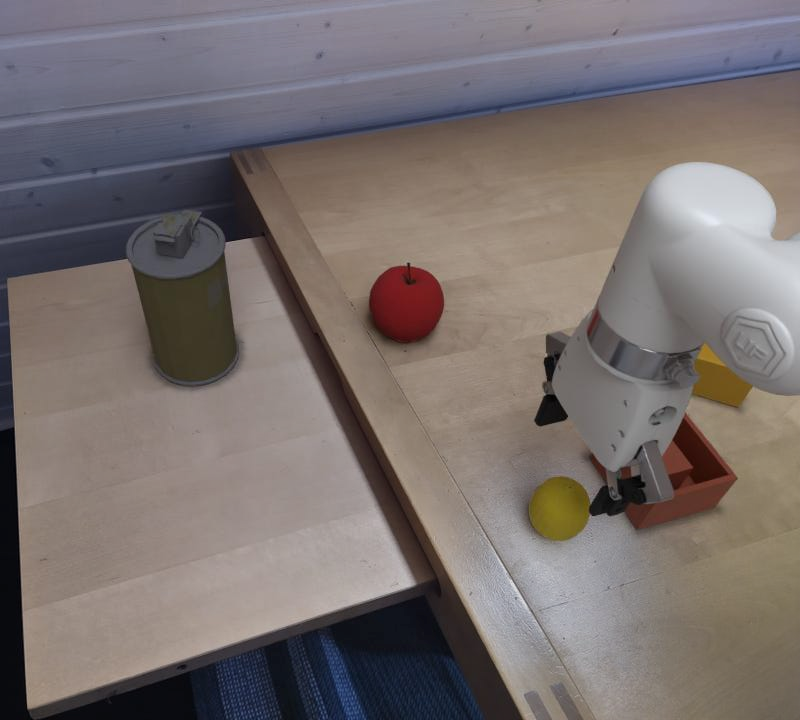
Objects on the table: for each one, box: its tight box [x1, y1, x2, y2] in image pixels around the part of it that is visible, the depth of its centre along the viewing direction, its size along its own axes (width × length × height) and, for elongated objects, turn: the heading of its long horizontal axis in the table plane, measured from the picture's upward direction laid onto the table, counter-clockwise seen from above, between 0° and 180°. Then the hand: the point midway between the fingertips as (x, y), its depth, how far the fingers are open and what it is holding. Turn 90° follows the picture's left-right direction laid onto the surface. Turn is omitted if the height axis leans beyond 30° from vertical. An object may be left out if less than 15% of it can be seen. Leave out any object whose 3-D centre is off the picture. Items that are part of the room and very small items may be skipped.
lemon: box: [528, 475, 592, 542], centre depth 69 cm, size 6×6×8 cm
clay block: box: [662, 440, 693, 490], centre depth 74 cm, size 4×4×4 cm
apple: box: [368, 262, 445, 343], centre depth 87 cm, size 9×9×10 cm
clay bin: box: [589, 412, 739, 531], centre depth 73 cm, size 9×9×6 cm
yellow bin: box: [691, 343, 754, 408], centre depth 85 cm, size 10×10×6 cm
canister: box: [125, 209, 240, 387], centre depth 81 cm, size 11×10×20 cm
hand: (576, 463), depth 64 cm, fingers open, 9 cm apart
